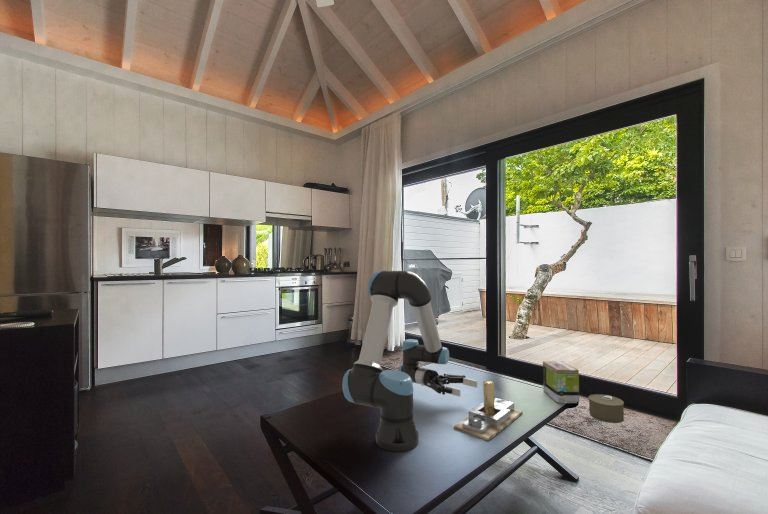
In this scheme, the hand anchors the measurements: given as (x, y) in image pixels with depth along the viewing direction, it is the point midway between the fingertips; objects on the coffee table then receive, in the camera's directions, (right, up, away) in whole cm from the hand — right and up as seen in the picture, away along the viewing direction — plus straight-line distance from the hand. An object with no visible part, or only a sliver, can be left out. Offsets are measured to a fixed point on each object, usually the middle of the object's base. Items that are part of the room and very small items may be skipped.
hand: (468, 388), depth 144 cm
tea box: (+46, -10, +16) cm, 50 cm away
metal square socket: (+7, -10, -7) cm, 14 cm away
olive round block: (+54, -10, -5) cm, 55 cm away
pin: (+7, -9, -7) cm, 13 cm away
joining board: (+7, -10, -7) cm, 14 cm away
